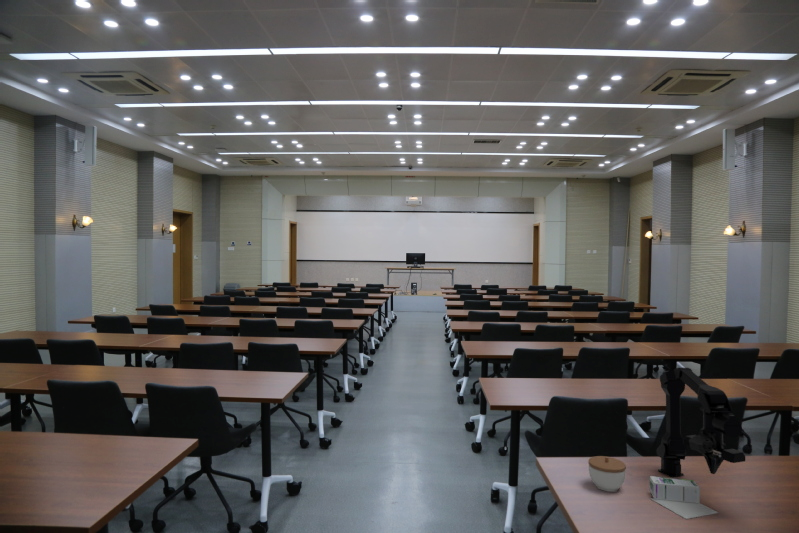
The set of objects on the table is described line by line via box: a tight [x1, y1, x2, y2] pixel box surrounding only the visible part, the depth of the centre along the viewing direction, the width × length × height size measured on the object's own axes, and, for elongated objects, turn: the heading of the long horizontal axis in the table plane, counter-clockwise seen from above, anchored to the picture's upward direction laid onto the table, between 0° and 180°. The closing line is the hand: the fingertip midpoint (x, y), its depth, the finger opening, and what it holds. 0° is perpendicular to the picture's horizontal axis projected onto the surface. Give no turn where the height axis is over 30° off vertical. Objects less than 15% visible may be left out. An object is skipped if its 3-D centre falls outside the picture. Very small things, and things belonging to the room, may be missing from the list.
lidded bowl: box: [588, 455, 627, 493], centre depth 179 cm, size 13×13×11 cm
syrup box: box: [648, 475, 701, 503], centre depth 171 cm, size 6×6×14 cm
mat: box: [649, 497, 719, 520], centre depth 165 cm, size 14×14×1 cm
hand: (712, 473), depth 166 cm, fingers closed
